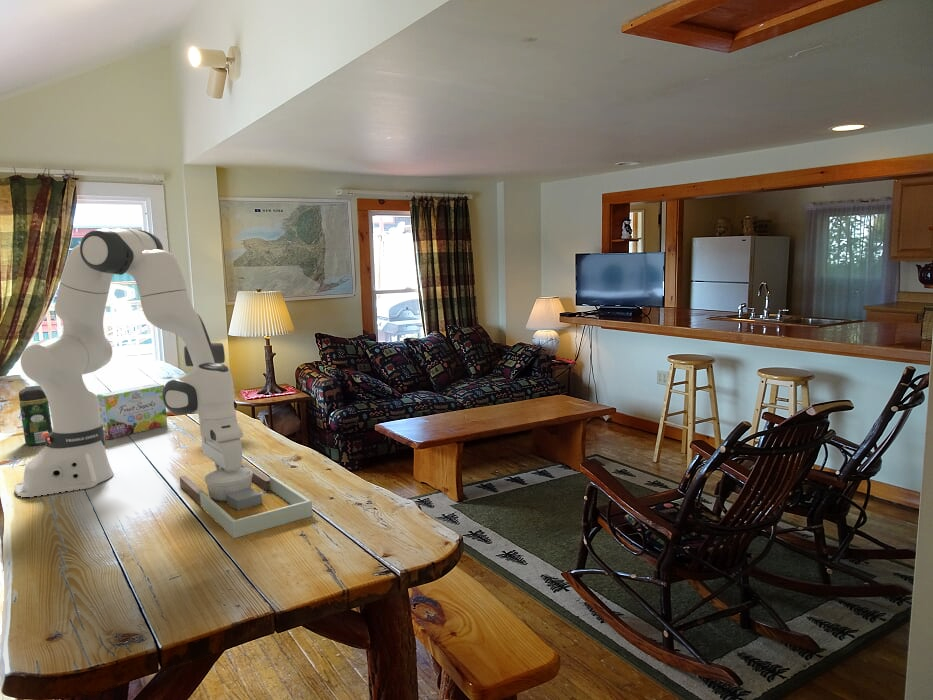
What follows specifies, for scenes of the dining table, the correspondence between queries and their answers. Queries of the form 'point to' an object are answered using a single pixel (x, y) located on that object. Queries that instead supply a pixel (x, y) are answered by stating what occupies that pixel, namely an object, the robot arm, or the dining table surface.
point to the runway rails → (196, 491)
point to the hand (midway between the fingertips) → (223, 479)
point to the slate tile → (244, 498)
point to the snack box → (132, 410)
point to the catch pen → (265, 520)
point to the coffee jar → (34, 414)
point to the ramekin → (227, 482)
